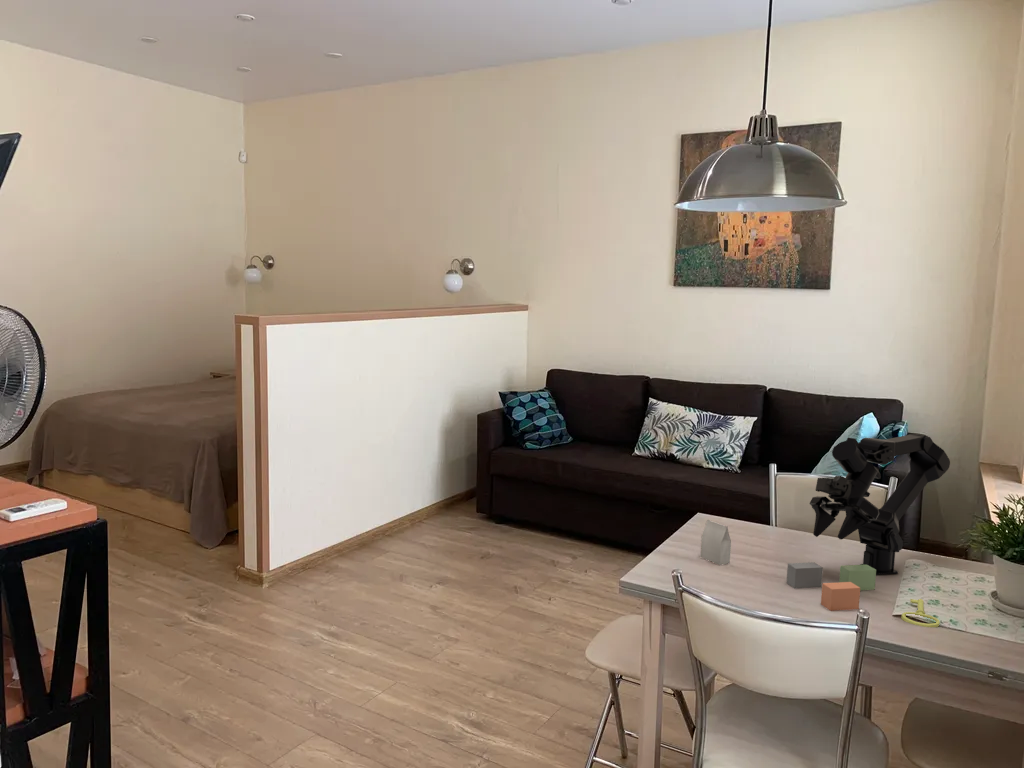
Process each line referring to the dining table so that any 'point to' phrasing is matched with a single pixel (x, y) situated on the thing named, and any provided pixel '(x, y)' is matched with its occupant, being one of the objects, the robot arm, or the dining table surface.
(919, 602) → the key
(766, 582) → the dining table surface
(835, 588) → the rust brick
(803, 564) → the gray brick
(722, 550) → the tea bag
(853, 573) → the green brick
